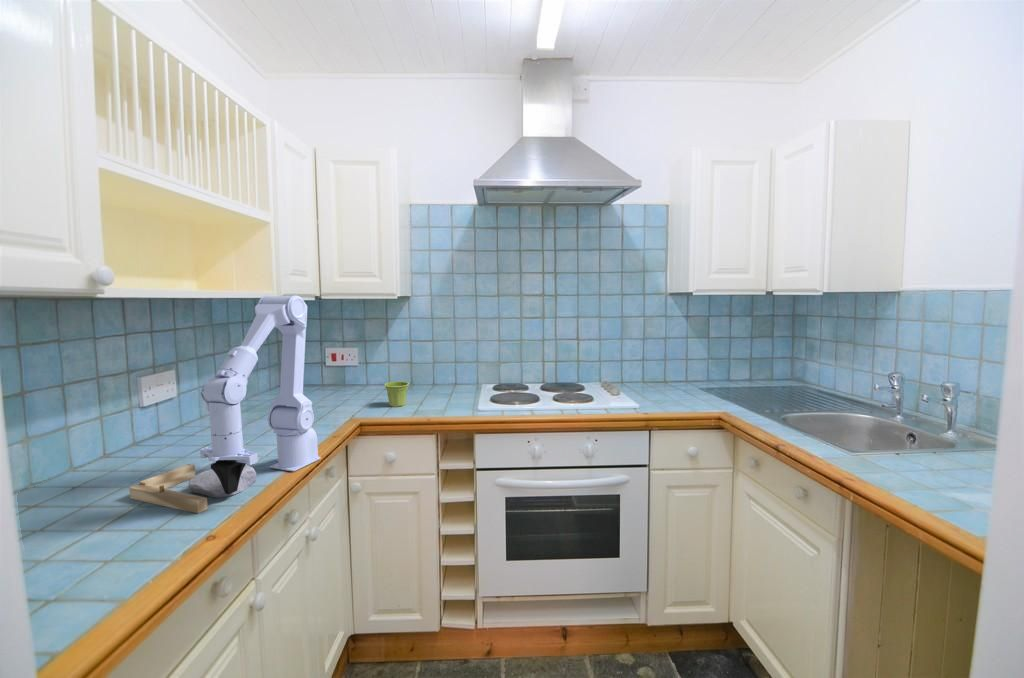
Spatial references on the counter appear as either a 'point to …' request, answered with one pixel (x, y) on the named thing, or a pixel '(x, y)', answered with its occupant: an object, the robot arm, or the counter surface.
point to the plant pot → (397, 393)
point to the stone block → (213, 487)
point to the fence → (169, 491)
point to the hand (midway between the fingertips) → (231, 492)
